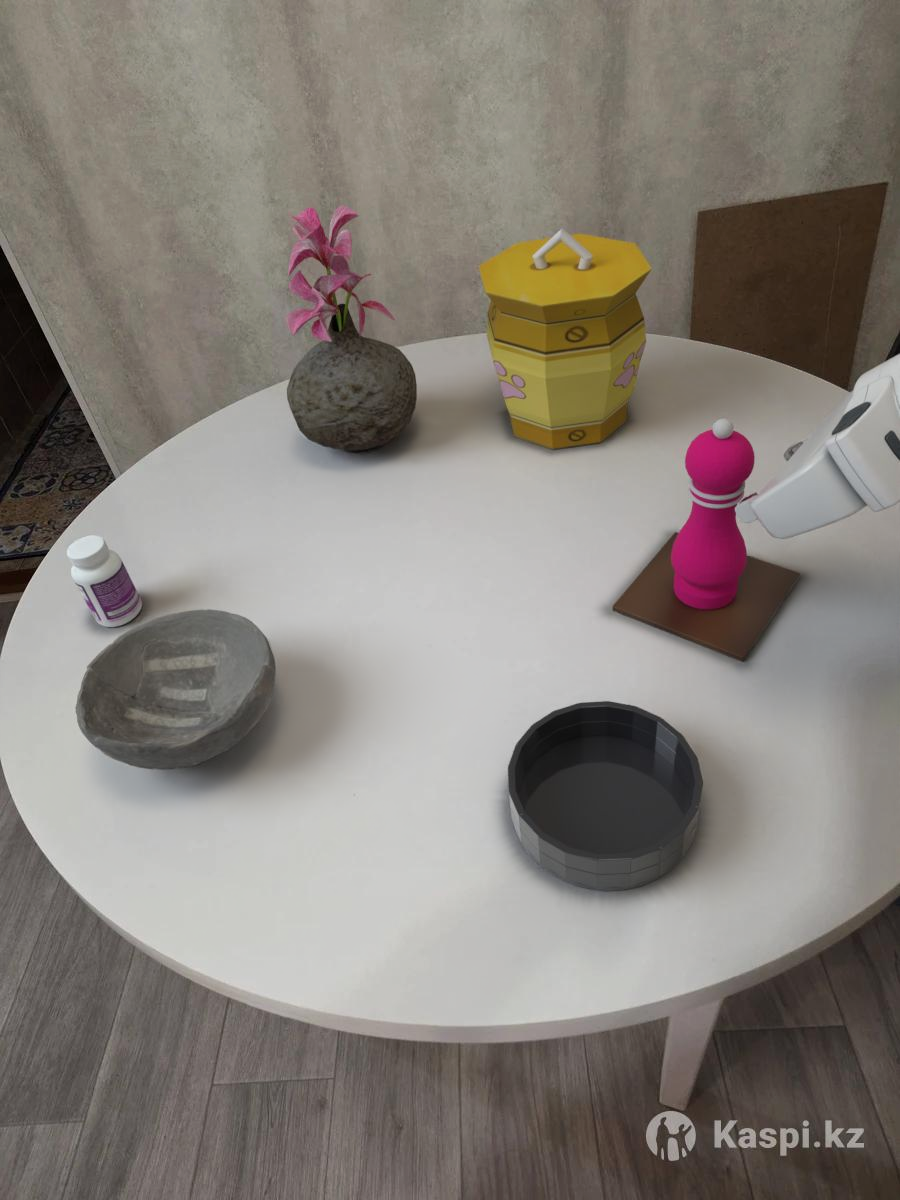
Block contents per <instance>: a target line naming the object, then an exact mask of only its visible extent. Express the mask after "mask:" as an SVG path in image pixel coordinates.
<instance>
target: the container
mask: <svg viewBox="0 0 900 1200" xmlns="http://www.w3.org/2000/svg"><path fill="white" fill-rule="evenodd" d="M645 257H646V256H644V254H643V252H642V251H641V249H640V248H639V247H638V245H637V243H636V242H630V241H625V240H620V239H619V240H618V239H613V238H609V237H602V236H596V235H593V234H591V235H590V234H585V233H575V234H570V233H568V232H567V230H565V229H564V228H563V227H561V229H559V231H557V232H556V233H555V234H554V235H553V236H552V237H547V238H539V239H533V240H525V241H519V242H516V243H514V244H513V245H511V246H510V247H508V248H506V249H504V250H503V251H501V252H500V253H498V254H496V255H494V256H493V257H491V258H489V259H488V260H486V261H484V262H483V263H481V264H479V265H478V269H479V273H480V276H481V281H482V284H483V288H484V292H485V294H486V296H488V298H489V299H490V304H489V306H488V310H487V318H486V319H487V320H486V339H487V342H488V346H489V350H490V354H491V359H492V363H493V366H494V369H495V372H496V375H497V378H498V380H499V384H500V388H501V391H502V395H503V399H504V403H505V407H506V408H507V411H508V412H507V413H508V416H509V421H510V425H511V429H512V433H513V436H514V438H517V439H520V440H522V441H526V442H527V443H528V442H529V443H531V444H533V445H534V444H535V445H537V446H540V447H543V448H546V449H549V450H552V451H555V450H561V449H562V450H563V449H568V448H569V449H570V448H576V447H584V446H591V445H598V444H602V443H603V442H604V441H605V440H606V439H607V438H609V437H610V436H611V435H613V433H614V432H616V431H617V430H618V429H619V428H621V426H623V425H624V424H625V423H626V422H627V415H628V413H627V412H628V404H629V401H630V400H631V396H632V394H633V392H634V390H635V386H636V382H637V378H638V373H639V368H640V364H641V361H642V357H643V354H644V352H645V348H646V345H647V336H646V335H647V334H646V324H645V316H644V314H643V311H642V308H641V305H640V302H639V299H638V297H637V296H638V295H637V292H638V290H639V289H640V287H641V286H642V284H643V283H644V281H645V280H646V278H647V277H648V275H649V274H650V273H651V271H652V269H653V268H652V267H651V265H650V263H649V262H648V260H647V258H645Z"/></svg>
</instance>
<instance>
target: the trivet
mask: <svg viewBox="0 0 900 1200" xmlns="http://www.w3.org/2000/svg"><path fill="white" fill-rule="evenodd" d="M678 533H679V532H677V531H675V532H674V533H673V534H672V535H671V537H669V539H668V540H667V541H666V543H664V545H663V546H662V547H661V548H660V549H659V551H658V552H657V553H656V554H655V556H653V558H651V560H650V561H649V563H648V564H647V565H646V566H645V567H644V568H643V570H642V571H641V572H640V573H639V574H638V576H637V577H636V578H635V579H634V580H633V581H632V583H631V584H630V585H629V586H628V587H627V588H626V590H625V591H624V592H623V593H622V594H621V596H620V597H619V598H618V599H616V602H615V603H614V604H613V605H612V609H611V610H612V611H613V612H616V613H618V614H621V615H623V616H626V617H629V618H630V619H633V620H636V621H639V622H641V623H644V624H646V625H649V626H651V627H653V628H656V629H658V630H662V631H664V632H667V633H669V634H672V635H674V636H676V637H680V638H682V639H683V640H687V641H690V642H692V643H694V644H697V645H699V646H703V647H705V648H707V649H710V650H712V651H714V652H717V653H720V654H722V655H725V656H726V657H730V658H732V659H734V660H738V661H740V662H744V661H745V659H746V658H747V657H748V655H749V654H750V652H751V650H752V649H753V648H754V647H755V645H756V643H757V642H758V640H759V639H760V637H761V636H762V635H763V633H764V631H765V630H766V629H767V627H768V625H769V624H770V622H771V621H772V620H773V618H774V616H775V615H776V613H777V612H778V611H779V609H780V607H781V606H782V604H783V603H784V601H785V600H786V599H787V597H788V596H789V594H790V592H791V591H792V589H793V588H794V586H795V585H796V583H797V582H798V580H799V579H800V577H801V572H798V571H795V570H792V569H789V568H786V567H783V566H781V565H777V564H774V563H772V562H768V561H765V560H762V559H759V558H756V557H753V556H750V555H747V560H746V566H745V569H744V571H743V573H742V574H741V575H740V576H739V577H738V587H737V593H736V596H735V598H734V599H733V601H732V602H730V603H729V604H727V605H726V606H724V607H721V608H718V609H712V610H704V609H697V608H693V607H691V606H688V605H686V604H684V603H683V602H682V601H681V600H679V599H678V597H677V596H676V594H675V592H674V575H675V570H674V568H673V566H672V563H671V553H672V548H673V544H674V542H675V539H676V537H677V535H678Z"/></svg>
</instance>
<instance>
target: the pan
mask: <svg viewBox="0 0 900 1200" xmlns="http://www.w3.org/2000/svg"><path fill="white" fill-rule="evenodd" d="M507 783H508V784H507V785H508V787H507V788H508V789H507V791H508V798H509V807H510V808H509V809H510V816H511V822H512V824H513V826H514V830H515V833H516V835H517V837H518V840H519V842H520V843H521V845H522V847H523V848H524V850H525V851H526V852H527V854H528V855H529V856H530V857H531V858H532V860H534V861H535V863H536V864H538V865H539V866H540V867H541V868H542V869H544V870H545V871H546V872H548V873H549V874H551V875H552V876H554V877H555V878H557V879H560V880H562V881H563V882H566V883H569V884H571V885H574V886H577V887H580V888H585V889H589V890H596V891H622V890H623V891H624V890H630V889H634V888H638V887H642V886H645V885H647V884H650V883H652V882H654V881H656V880H658V879H660V878H662V877H663V876H665V875H667V874H668V873H669V872H670V871H671V870H673V869H674V868H675V867H676V866H677V865H678V864H679V863H680V862H681V861H682V860H683V859H684V858H685V855H686V854H687V853H688V851H689V849H690V848H691V845H692V844H693V842H694V839H695V837H696V832H697V828H698V827H697V826H698V820H699V815H700V808H701V803H702V801H701V800H702V794H703V788H704V779H703V776H702V771H701V767H700V763H699V759H698V756H697V755H696V753H695V752H694V750H693V749H692V747H691V745H690V744H689V743H688V741H687V739H686V738H685V737H684V735H683V734H682V733H681V732H680V731H678V730H677V729H676V728H675V727H673V726H672V725H671V724H670V723H668V722H667V721H666V720H665V719H664V718H662V717H661V716H659V715H657V714H654V713H652V712H650V711H648V710H645V709H643V708H641V707H639V706H636V705H633V704H627V703H621V702H616V701H615V702H614V701H610V700H604V701H587V702H584V701H583V702H578V703H577V702H576V703H575V704H571V705H568V706H565V707H562V708H558V709H555V710H552V711H551V712H550V713H548V714H547V715H545V716H543V717H542V718H540V719H539V720H537V721H536V722H534V723H532V725H530V727H528V729H527V730H526V731H525V732H524V734H523V735H522V736H521V738H520V739H518V741H517V742H516V744H515V746H514V748H513V751H512V754H511V756H510V760H509V763H508V765H507Z"/></svg>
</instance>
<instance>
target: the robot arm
mask: <svg viewBox="0 0 900 1200" xmlns="http://www.w3.org/2000/svg"><path fill="white" fill-rule="evenodd" d="M783 458H784V460H785V461H786V462H785V463H784V464H783V466H781V468H780V469H779V470H778V471H777V472H775V473H776V474H774V475H773V476H772V478H770V480H769V481H768V482H767V483H766V484H765V486H764V487H763V488H762V489H761V490H760V492H758V493H757V492H754V493H751V494H750V495H747V496H744V497H743V498H742V500H741V501H740V502H739V503H737V506H736V507H735V512H736V516H738V518H739V519H740V520H741V522H743V523H744V524H750V523H753V522H755V521H757V520H758V521H759V523H760V524H761V526H762V527H763V528H764V530H765V531H766V532H767V533H768V534H769V535H770V536H771V537H772V538H774V539H780V540H785V539H790V538H794V537H797V536H800V535H803V534H806V533H810V532H812V531H816V530H818V529H820V528H824V527H826V526H830V525H832V524H836V523H837V522H840V521H843V520H844V519H847V518H849V517H851V516H852V515H855V514H857V513H859V512H860V511H861V510H863V509H865V508H866V507H869V509H870V510H871V511H872V512H874V513H877V512H878V513H879V512H881V511H884V510H887V509H890V508H891V507H894V506H895V505H897V504H898V503H900V353H898V354H896V355H894V356H893V357H890V358H889V359H887V360H885V361H884V362H881V363H880V364H878V365H876V366H875V367H873V368H871V369H869V370H867V371H865V372H864V373H862V374H861V375H860V376H859V377H858V379H857V381H856V382H855V384H854V386H853V390H852V391H850V392H849V393H847V394H846V395H845V396H844V397H843V398H842V399H841V400H840V401H839V403H838V404H836V406H835V407H834V408H833V409H832V410H831V411H830V413H828V415H827V416H825V418H824V419H823V420H822V422H821V423H820V424H819V425H818V426H817V427H816V428H815V429H814V430H812V431H811V432H810V433H809V434H807V435H806V436H805V437H804V438H802V439H800V440H798V441H796V442H794V443H792V444H791V445H790V446H789V447H788V448H787V449H786V450H785V452H784V453H783Z"/></svg>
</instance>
